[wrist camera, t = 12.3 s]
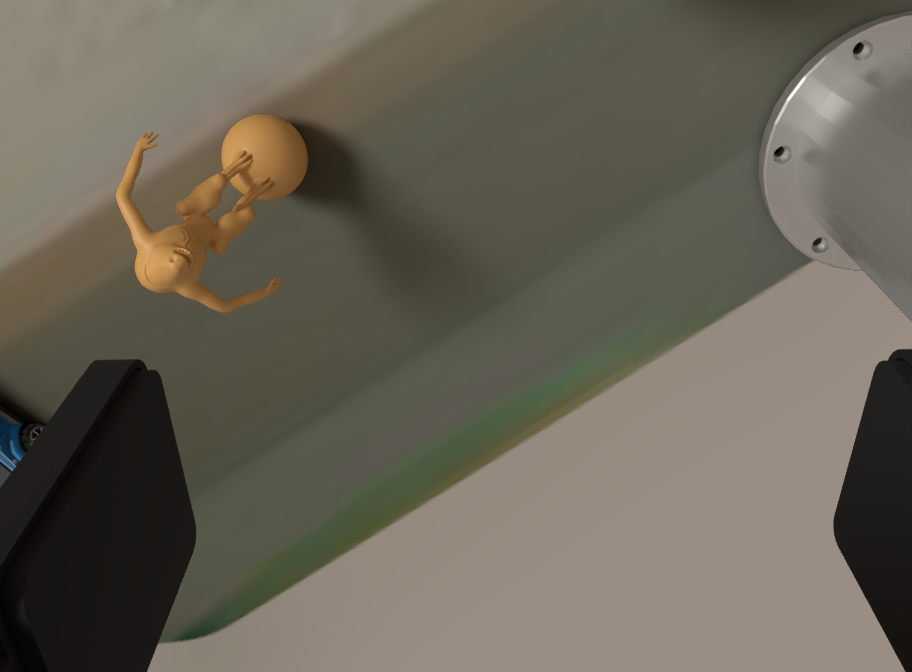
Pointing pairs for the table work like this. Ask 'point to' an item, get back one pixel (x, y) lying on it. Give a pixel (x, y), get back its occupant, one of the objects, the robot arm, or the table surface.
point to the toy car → (14, 441)
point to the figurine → (184, 246)
